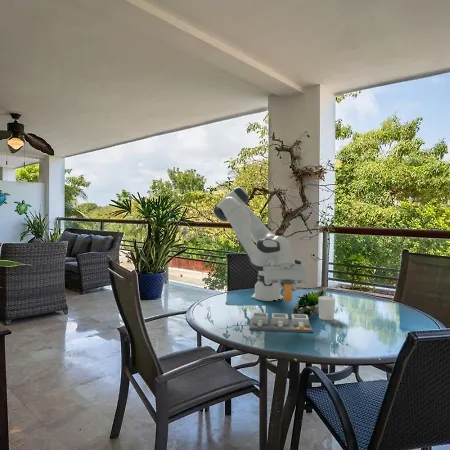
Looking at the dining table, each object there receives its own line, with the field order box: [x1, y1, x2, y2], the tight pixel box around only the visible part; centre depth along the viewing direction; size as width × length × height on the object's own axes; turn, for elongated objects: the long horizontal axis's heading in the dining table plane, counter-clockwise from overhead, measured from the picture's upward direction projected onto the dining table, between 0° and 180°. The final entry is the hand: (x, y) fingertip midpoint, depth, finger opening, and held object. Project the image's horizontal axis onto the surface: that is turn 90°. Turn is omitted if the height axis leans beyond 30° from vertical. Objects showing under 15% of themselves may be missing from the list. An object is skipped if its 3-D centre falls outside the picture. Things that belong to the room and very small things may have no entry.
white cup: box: [317, 295, 336, 321], centre depth 174 cm, size 8×8×10 cm
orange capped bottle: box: [282, 280, 294, 303], centre depth 161 cm, size 4×4×9 cm
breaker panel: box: [248, 311, 314, 333], centre depth 161 cm, size 14×27×4 cm, turn 84°
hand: (288, 290), depth 161 cm, fingers closed on orange capped bottle, 4 cm apart
